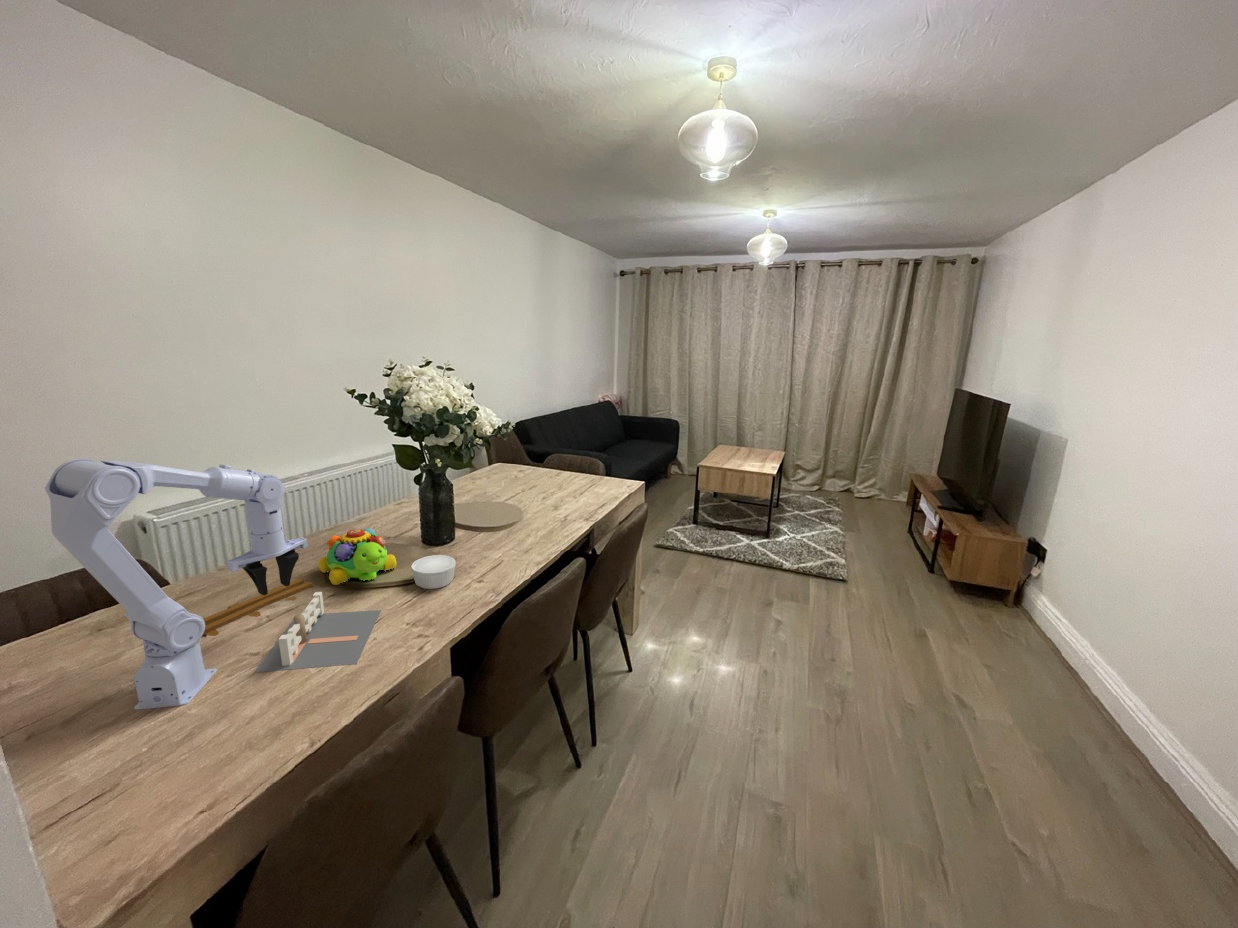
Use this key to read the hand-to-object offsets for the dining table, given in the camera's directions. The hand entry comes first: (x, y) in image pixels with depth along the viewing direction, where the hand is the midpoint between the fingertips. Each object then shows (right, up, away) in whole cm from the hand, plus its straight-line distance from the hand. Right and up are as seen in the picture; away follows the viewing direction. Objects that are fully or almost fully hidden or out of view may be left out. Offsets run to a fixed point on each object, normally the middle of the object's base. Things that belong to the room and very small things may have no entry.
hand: (274, 589), depth 105 cm
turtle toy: (+3, -4, +30) cm, 30 cm away
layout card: (+10, -11, +1) cm, 15 cm away
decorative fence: (-13, -8, +11) cm, 19 cm away
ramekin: (+24, -5, +28) cm, 37 cm away
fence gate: (+5, -9, +5) cm, 11 cm away
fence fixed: (+7, -12, -4) cm, 15 cm away
